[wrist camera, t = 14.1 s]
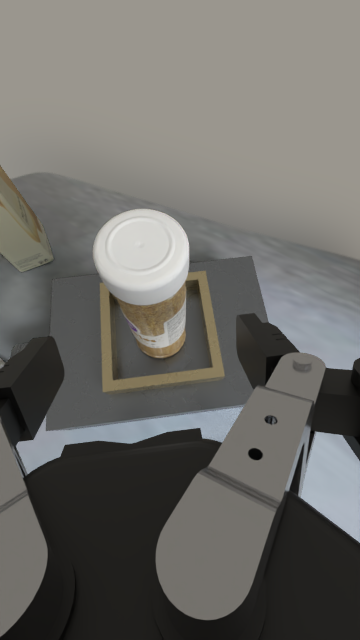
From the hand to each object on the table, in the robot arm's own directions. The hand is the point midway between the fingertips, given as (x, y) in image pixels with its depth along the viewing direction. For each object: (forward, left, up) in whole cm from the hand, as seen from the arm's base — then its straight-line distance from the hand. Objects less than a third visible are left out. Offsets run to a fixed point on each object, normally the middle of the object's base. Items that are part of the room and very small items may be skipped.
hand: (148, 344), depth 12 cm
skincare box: (+15, -19, -17) cm, 30 cm away
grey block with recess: (+2, -4, -17) cm, 18 cm away
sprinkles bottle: (0, -4, -12) cm, 13 cm away
